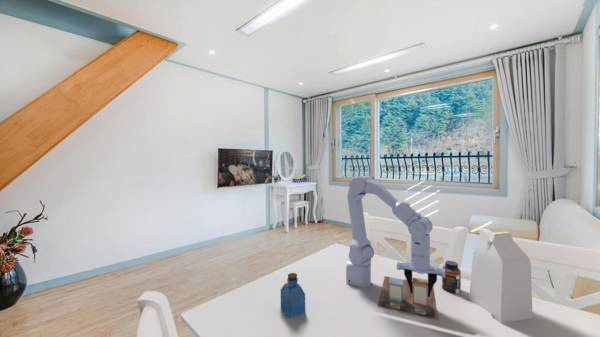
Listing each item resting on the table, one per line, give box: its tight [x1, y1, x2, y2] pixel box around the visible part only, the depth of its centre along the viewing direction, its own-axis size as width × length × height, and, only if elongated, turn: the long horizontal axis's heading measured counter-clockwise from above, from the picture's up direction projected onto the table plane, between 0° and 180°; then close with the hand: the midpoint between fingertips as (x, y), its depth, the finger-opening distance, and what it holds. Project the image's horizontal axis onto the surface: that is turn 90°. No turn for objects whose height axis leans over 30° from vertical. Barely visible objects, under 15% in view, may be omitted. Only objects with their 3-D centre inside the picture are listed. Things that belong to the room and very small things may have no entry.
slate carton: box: [389, 276, 404, 302], centre depth 86 cm, size 5×4×7 cm
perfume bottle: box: [280, 272, 306, 318], centre depth 83 cm, size 6×6×12 cm
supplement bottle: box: [441, 260, 462, 295], centre depth 93 cm, size 6×6×11 cm
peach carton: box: [412, 276, 428, 307], centre depth 83 cm, size 5×4×7 cm
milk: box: [468, 231, 534, 324], centre depth 82 cm, size 12×12×26 cm
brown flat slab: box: [377, 275, 439, 321], centre depth 90 cm, size 18×23×3 cm
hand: (419, 293), depth 83 cm, fingers closed on peach carton, 4 cm apart
